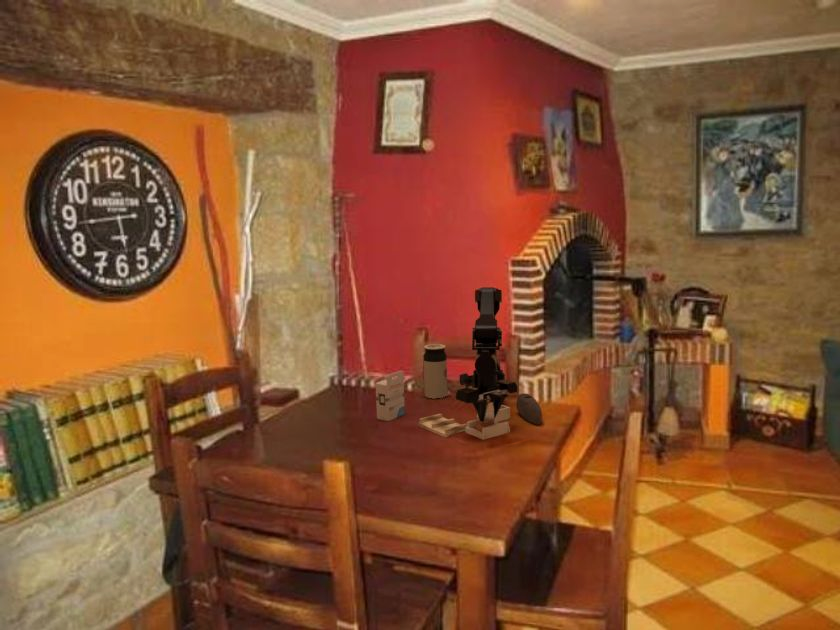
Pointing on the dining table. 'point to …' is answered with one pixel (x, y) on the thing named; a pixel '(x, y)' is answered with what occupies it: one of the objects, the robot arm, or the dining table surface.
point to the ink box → (390, 397)
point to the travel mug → (435, 371)
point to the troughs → (441, 425)
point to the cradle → (487, 429)
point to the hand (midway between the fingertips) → (487, 419)
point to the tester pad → (479, 427)
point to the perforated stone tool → (529, 408)
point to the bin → (502, 414)
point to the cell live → (488, 414)
